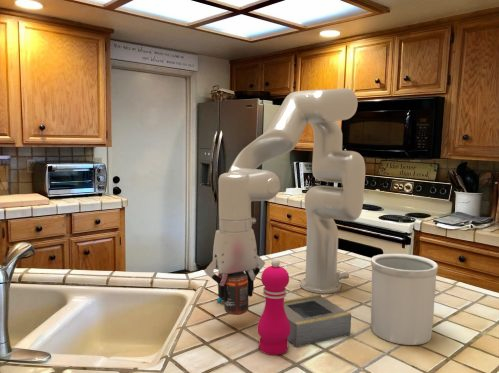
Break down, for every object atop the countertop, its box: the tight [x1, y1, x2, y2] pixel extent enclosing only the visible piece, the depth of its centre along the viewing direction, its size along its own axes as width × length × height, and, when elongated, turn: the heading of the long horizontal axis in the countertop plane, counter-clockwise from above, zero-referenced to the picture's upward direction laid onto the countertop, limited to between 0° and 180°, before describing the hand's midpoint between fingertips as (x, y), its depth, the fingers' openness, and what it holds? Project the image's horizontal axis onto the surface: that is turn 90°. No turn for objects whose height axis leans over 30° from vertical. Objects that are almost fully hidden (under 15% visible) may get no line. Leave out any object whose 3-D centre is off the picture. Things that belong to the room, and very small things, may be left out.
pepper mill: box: [256, 258, 290, 356], centre depth 90 cm, size 7×7×20 cm
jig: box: [284, 293, 352, 348], centre depth 101 cm, size 15×13×5 cm
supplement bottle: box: [223, 271, 249, 316], centre depth 101 cm, size 6×6×11 cm
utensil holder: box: [370, 253, 439, 346], centre depth 99 cm, size 15×15×18 cm
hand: (236, 296), depth 101 cm, fingers closed on supplement bottle, 6 cm apart
